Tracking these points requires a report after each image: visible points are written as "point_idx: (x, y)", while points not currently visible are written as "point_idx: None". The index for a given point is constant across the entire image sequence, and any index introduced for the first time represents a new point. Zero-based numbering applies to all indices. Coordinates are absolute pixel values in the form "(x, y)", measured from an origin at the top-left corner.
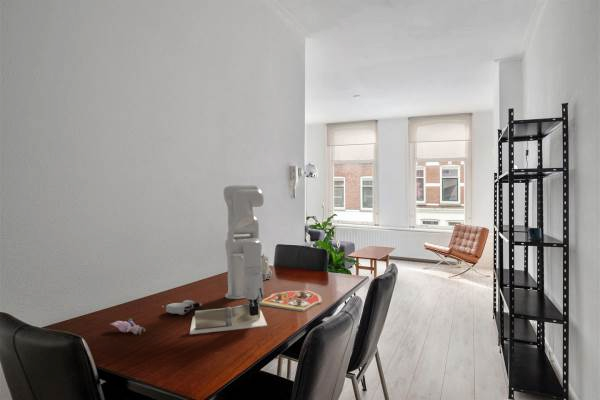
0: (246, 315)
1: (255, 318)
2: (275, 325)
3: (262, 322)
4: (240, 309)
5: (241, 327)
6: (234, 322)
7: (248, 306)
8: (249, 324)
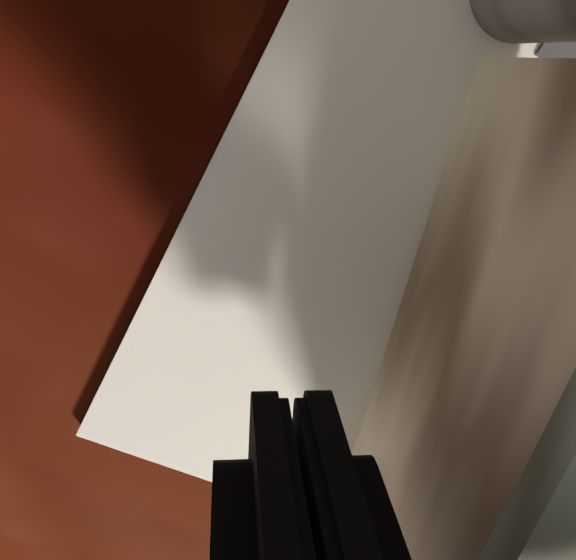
0: (431, 357)
1: (362, 437)
2: (33, 499)
3: (209, 440)
4: (568, 320)
5: (255, 101)
6: (483, 86)
7: (488, 541)
8: (280, 278)
